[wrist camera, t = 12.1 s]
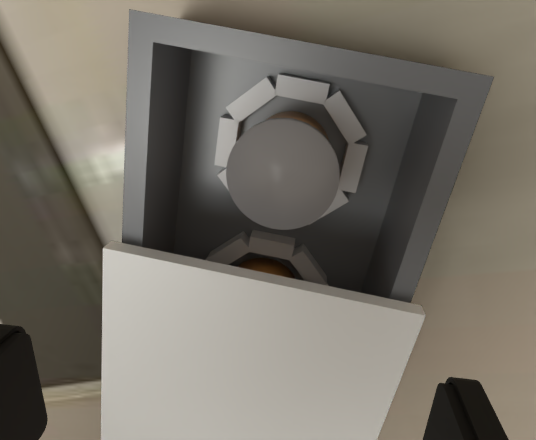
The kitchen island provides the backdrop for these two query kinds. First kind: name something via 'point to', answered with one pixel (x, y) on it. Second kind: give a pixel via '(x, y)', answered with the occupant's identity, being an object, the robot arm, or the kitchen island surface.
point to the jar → (283, 171)
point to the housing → (339, 134)
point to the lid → (243, 352)
